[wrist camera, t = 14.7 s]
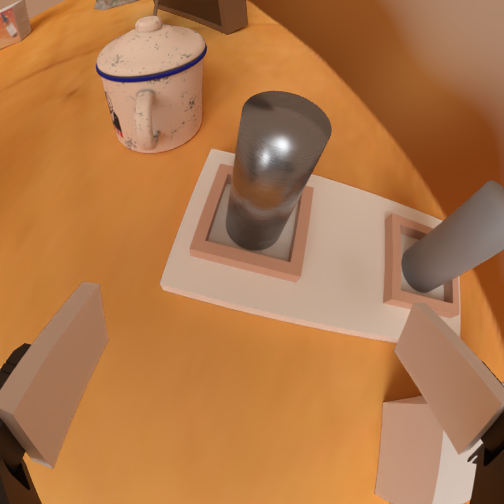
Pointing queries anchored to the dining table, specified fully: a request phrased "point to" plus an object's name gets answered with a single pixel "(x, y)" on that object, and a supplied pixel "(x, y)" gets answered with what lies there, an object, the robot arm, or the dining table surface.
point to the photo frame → (208, 12)
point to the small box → (14, 24)
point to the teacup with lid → (154, 85)
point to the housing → (420, 458)
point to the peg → (272, 165)
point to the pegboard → (334, 256)
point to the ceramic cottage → (110, 3)
